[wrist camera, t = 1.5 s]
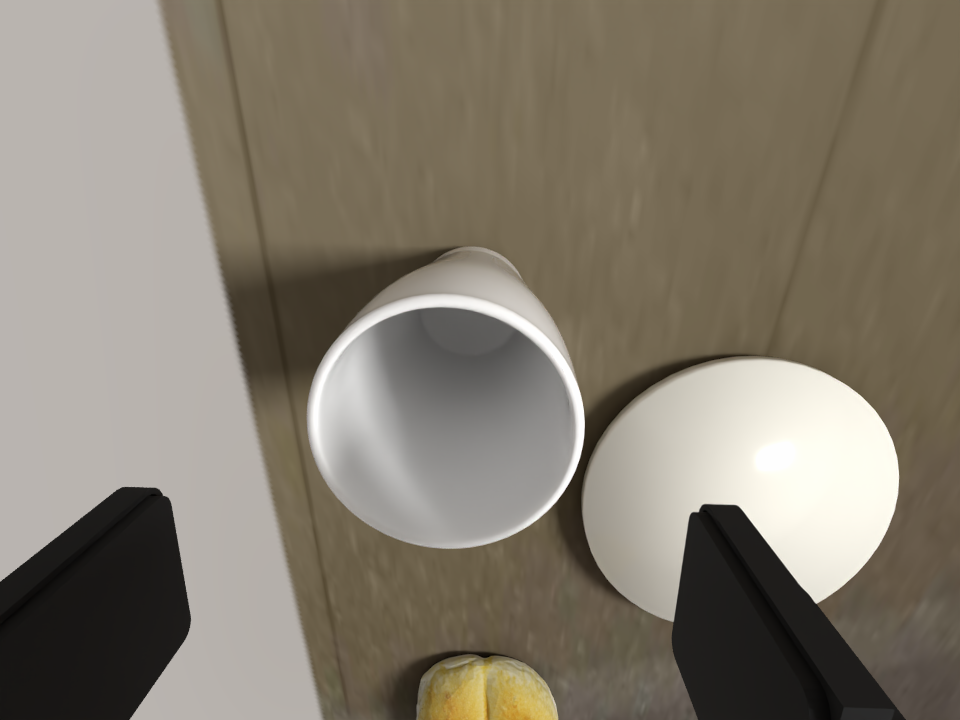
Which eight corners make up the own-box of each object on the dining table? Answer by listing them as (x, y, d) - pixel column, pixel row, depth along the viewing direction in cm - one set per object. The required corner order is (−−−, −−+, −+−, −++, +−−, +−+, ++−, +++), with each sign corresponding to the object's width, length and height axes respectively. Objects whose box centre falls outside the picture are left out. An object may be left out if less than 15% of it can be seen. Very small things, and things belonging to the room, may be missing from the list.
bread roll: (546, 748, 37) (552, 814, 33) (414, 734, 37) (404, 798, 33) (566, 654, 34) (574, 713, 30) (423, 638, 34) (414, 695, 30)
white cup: (462, 389, 29) (428, 598, 14) (375, 288, 27) (240, 411, 13) (568, 310, 27) (646, 456, 13) (482, 199, 26) (464, 225, 11)
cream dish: (591, 348, 28) (596, 357, 26) (914, 355, 27) (936, 365, 26) (570, 604, 33) (573, 623, 31) (842, 613, 32) (858, 633, 31)
